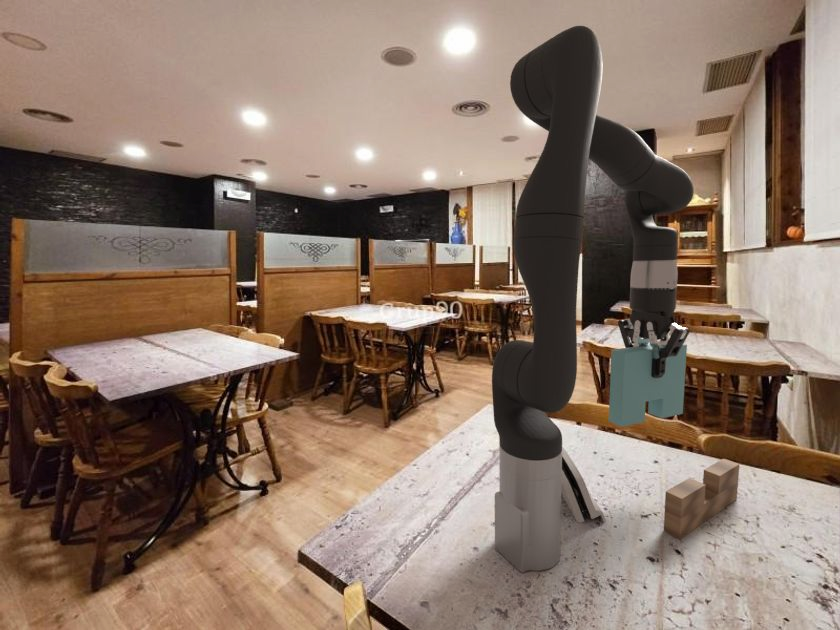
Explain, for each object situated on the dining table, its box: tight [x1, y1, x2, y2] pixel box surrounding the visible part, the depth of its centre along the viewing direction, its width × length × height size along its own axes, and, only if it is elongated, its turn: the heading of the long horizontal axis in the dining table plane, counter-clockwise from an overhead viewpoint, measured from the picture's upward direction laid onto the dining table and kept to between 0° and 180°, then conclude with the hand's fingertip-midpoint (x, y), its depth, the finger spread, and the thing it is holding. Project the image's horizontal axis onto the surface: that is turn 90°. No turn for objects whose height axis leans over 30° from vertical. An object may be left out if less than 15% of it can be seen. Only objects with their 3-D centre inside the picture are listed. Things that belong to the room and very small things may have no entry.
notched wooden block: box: [663, 458, 740, 540], centre depth 69 cm, size 20×2×7 cm, turn 120°
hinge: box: [561, 446, 607, 524], centre depth 76 cm, size 17×5×10 cm, turn 178°
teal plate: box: [608, 343, 688, 428], centre depth 76 cm, size 16×3×14 cm, turn 110°
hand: (648, 374), depth 76 cm, fingers closed on teal plate, 3 cm apart
